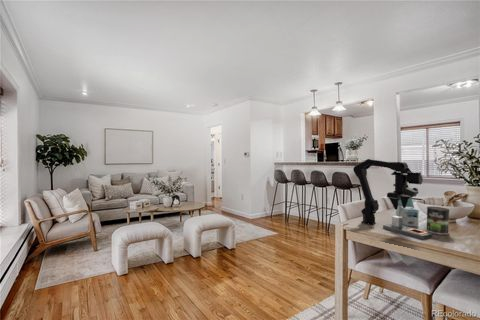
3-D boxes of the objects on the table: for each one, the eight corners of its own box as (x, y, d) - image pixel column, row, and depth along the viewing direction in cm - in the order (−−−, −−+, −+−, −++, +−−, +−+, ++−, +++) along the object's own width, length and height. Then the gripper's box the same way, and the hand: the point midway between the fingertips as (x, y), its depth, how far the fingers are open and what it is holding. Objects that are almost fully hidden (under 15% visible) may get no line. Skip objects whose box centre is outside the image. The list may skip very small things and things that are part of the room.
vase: (398, 216, 179) (398, 192, 179) (417, 219, 171) (417, 194, 170) (393, 219, 171) (393, 194, 171) (412, 222, 163) (413, 196, 162)
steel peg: (391, 229, 147) (392, 216, 147) (395, 228, 149) (396, 215, 149) (398, 231, 144) (398, 217, 144) (402, 230, 146) (402, 217, 145)
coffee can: (446, 236, 136) (446, 211, 136) (423, 231, 144) (424, 207, 144) (450, 232, 142) (451, 208, 142) (429, 228, 150) (429, 205, 150)
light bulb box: (418, 226, 153) (419, 209, 153) (406, 226, 155) (407, 209, 155) (410, 222, 164) (410, 206, 164) (399, 221, 165) (399, 206, 165)
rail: (383, 228, 149) (383, 224, 149) (393, 226, 154) (393, 222, 154) (422, 239, 130) (422, 235, 129) (433, 237, 134) (433, 232, 134)
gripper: (407, 185, 134) (406, 213, 134) (423, 183, 143) (423, 209, 144) (386, 183, 144) (386, 209, 144) (403, 181, 153) (403, 206, 153)
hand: (400, 208), depth 146 cm, fingers open, 9 cm apart
